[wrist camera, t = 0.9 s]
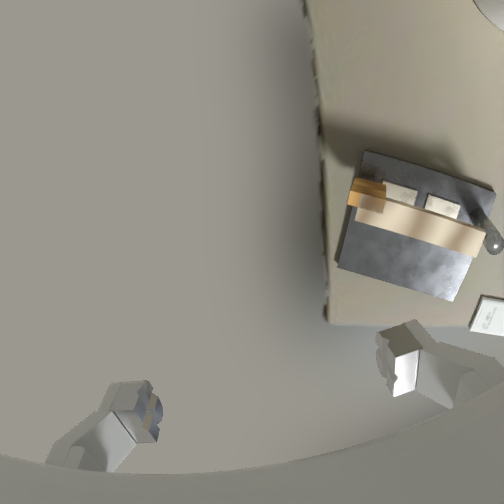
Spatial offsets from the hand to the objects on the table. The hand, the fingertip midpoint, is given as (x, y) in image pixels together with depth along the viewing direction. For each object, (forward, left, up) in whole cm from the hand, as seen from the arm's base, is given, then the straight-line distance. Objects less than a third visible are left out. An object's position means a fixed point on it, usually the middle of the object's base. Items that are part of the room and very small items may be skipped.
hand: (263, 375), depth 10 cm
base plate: (+11, +12, -46) cm, 49 cm away
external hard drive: (+23, +37, -47) cm, 64 cm away
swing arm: (+6, +10, -43) cm, 44 cm away
